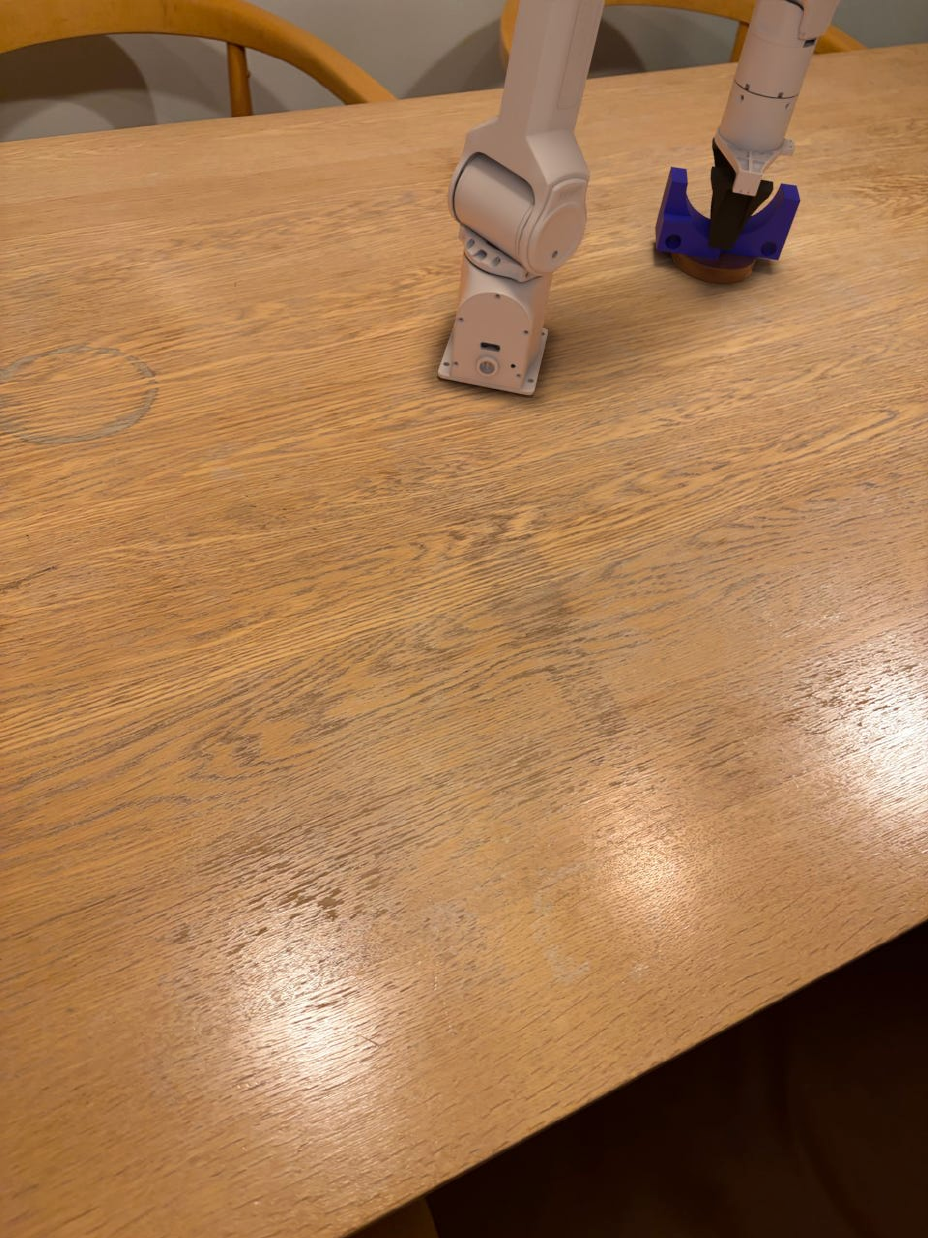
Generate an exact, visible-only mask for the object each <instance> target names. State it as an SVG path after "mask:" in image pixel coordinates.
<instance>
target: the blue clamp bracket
mask: <svg viewBox="0 0 928 1238" xmlns="http://www.w3.org/2000/svg"><path fill="white" fill-rule="evenodd" d="M688 185H689V180H688V168H683V167H676V166H670V169H669V173H668V177H667V180H666V184H665V187H664V192H663V195H662V199H661V203H660V207H659V210H658V215H657V219H656V221H655V222H656V223H655V226H654V230H655V231H654V232H655V233H654V234H655V250H656V251H660V252H667V253H672V252H673V253H679V254H686V255H693V256H699V257H706V258H713V259H718V258H719V255H720V252H725V253H731V254H738V255H745V256H751V257H756V258H758V259H765V260H771V261H772V260H773V261H779V260H780V258H781V255H782V251H783V249H784V246H785V243H786V241H787V238H788V235H789V233H790V230H791V228H792V225H793V222H794V221H795V216H796V214H797V212H798V208H799V206H800V202H801V201H802V200H801V197H800V192H799V189H798V185H796V184H789V183H783V182H781V183H780V185H779V187H778V189H777V191H776V193H775V195H773V197H772V198H771V200H770V201H769V202H768V203H767V204H766V205H765V206H764V207H763V208H762V209H760V210H759V211H758V212H755V214H754V213H753V214H752V216H751V217H750V219H749V220H748V222H747V223H746V225H745V227H744V228H743V230H742V232H741V234H740V236H739V237H738V239H737V241H736V242H735V244H734V245H733V247H732V248H731V250H723V249H718V248H713V247H710V246H709V232H710V224H711V219H710V217H707V216H706V215H703V214H702V213H700V212H699V211H698V210H697V209H696V208H695V206H693V204H692V202H691V201H690V198H689V196H688V193H687V192H688Z"/></svg>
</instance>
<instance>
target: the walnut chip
mask: <svg viewBox="0 0 928 1238" xmlns="http://www.w3.org/2000/svg"><path fill="white" fill-rule="evenodd" d="M670 257H671V260H672V261H673V263H674V265H675V266H676V267H677V268H678V269H679V270H680V271H682V272H683V273H685V274H686V275H688V276H690V277H693V278H695V279H697V280H700V281H703V282H707V283H712V284H719V285H720V284H721V285H722V284H724V285H725V284H726V285H727V284H728V285H729V284H736V283H740V282H742V281H745V280H746V279H747V278H749V276H750V275H751V274H752V271H753V268H754V266H755V262H756V259H757V257H751V256H745V255H738V254H731V253H725V252H720V255H719V258H718V259H713V258H706V257H699V256H693V255H686V254H679V253H673V252H670Z"/></svg>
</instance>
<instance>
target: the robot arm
mask: <svg viewBox="0 0 928 1238" xmlns="http://www.w3.org/2000/svg"><path fill="white" fill-rule="evenodd" d="M841 2H842V0H755V4H754V7H753V11H752V14H751V17H750V21H749V24H748V28H747V32H746V35H745V38H744V42H743V45H742V49H741V52H740V55H739V59H738V63H737V66H736V69H735V73H734V77H733V80H732V83H731V88H730V91H729V93H728V97H727V101H726V104H725V107H724V112H723V113H722V118H721V122H720V125H719V126H718V127H717V128H716V132H715V135H714V137H713V138H712V140H711V149H712V155H713V160H714V161H713V163H714V166H713V165H712V166H711V169H710V186H711V191H712V194H711V201H710V209H709V210H710V212H709V219H711V224H710V232H709V246H710V247H713V248H718V249H723V250H731V248H732V247H733V245H734V244H735V242H736V241H737V239H738V237H739V236H740V234H741V232H742V230H743V228H744V227H745V225H746V223H747V222H748V220H749V219H750V217H751V216H753V215H754V213H756V211H757V209H759V207H760V206H762V204H763V203H764V202H765V201H767V200H768V199H769V198H770V196H771V195H772V194H773V191H774V181H772V180H766V179H762V178H763V175H764V173H765V172H766V171H767V170H768V169H769V168H770V167H771V166H772V165H773V164H774V163H775V162H776V160H777V159H779V157H780V156H786V157H791V156H793V155H794V153H795V149H796V142H795V141H794V140H793V139H791V138H785V137H786V135H787V131H788V128H789V125H790V122H791V119H792V117H793V113H794V110H795V107H796V105H797V102H798V99H799V95H800V94H801V93H800V92H801V89H802V87H803V84H804V81H805V79H806V76H807V72H808V69H809V66H810V63H811V61H812V57H813V54H814V52H815V49H816V46H817V43H818V40H819V37H821V36H823V35H825V34H826V32H827V30H828V28H829V27H830V26H831V23H832V20H833V17H834V15H835V12H836V11H837V8H838V6H839V5H840V3H841ZM605 4H606V0H519V3H518V8H517V13H516V19H515V25H514V30H513V34H512V35H513V36H512V39H511V45H510V46H511V47H510V51H509V57H508V63H507V69H506V73H505V74H506V75H505V78H504V79H505V80H504V85H503V90H502V96H501V101H500V106H499V113H498V114H497V115H495V116H492V117H490V118H488V119H487V120H484V121H482V122H480V123H478V124H477V125H475V126H474V127H472V128H470V129H469V130H468V131H467V132H466V136H465V140H464V146H463V150H462V154H461V157H460V159H459V161H458V163H457V165H456V167H455V169H454V171H453V173H452V175H451V178H450V180H449V184H448V188H447V196H446V197H447V208H448V211H449V213H450V215H451V217H452V219H453V220H454V221H455V222H456V223H458V224H459V230H458V231H459V232H458V240H460V241H461V243H462V244H463V251H462V261H461V269H460V279H459V288H458V298H457V306H456V307H457V308H456V314H455V321H454V324H453V326H452V329H451V333H450V334H449V337H448V341H447V343H446V347H445V349H444V352H443V355H442V357H441V361H440V363H439V366H438V369H437V376H438V377H439V378H440V379H444V380H449V381H453V382H457V383H458V382H459V383H464V384H469V385H474V386H478V387H484V388H489V389H494V390H499V391H504V392H509V393H515V394H519V395H524V396H532V395H534V394H535V391H536V386H537V382H538V378H539V374H540V370H541V365H542V361H543V356H544V352H545V348H546V344H547V339H548V335H549V330H548V329H547V328H546V327H544V325H545V319H546V313H547V309H548V303H549V298H550V291H551V287H552V280H553V276H554V273H555V272H556V271H558V270H559V269H560V268H563V266H565V265H566V264H567V263H568V262H569V261H570V260H571V259H572V257H573V256H574V255H575V253H576V252H577V250H578V249H579V247H580V245H581V243H582V241H583V238H584V235H585V231H586V225H587V219H588V218H587V217H588V216H587V215H588V212H587V204H586V203H587V202H586V197H587V191H588V187H589V186H588V185H589V182H590V177H591V174H590V171H589V168H588V164H587V162H586V160H585V156H584V155H583V152H582V149H581V147H580V145H579V143H578V139H577V137H576V134H575V133H576V132H575V130H576V126H577V121H578V118H579V113H580V109H581V104H582V100H583V96H584V92H585V89H586V83H587V80H588V75H589V72H590V71H589V70H590V66H591V63H592V58H593V54H594V50H595V47H596V41H597V37H598V33H599V28H600V24H601V21H602V17H603V16H602V15H603V11H604V8H605Z"/></svg>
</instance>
